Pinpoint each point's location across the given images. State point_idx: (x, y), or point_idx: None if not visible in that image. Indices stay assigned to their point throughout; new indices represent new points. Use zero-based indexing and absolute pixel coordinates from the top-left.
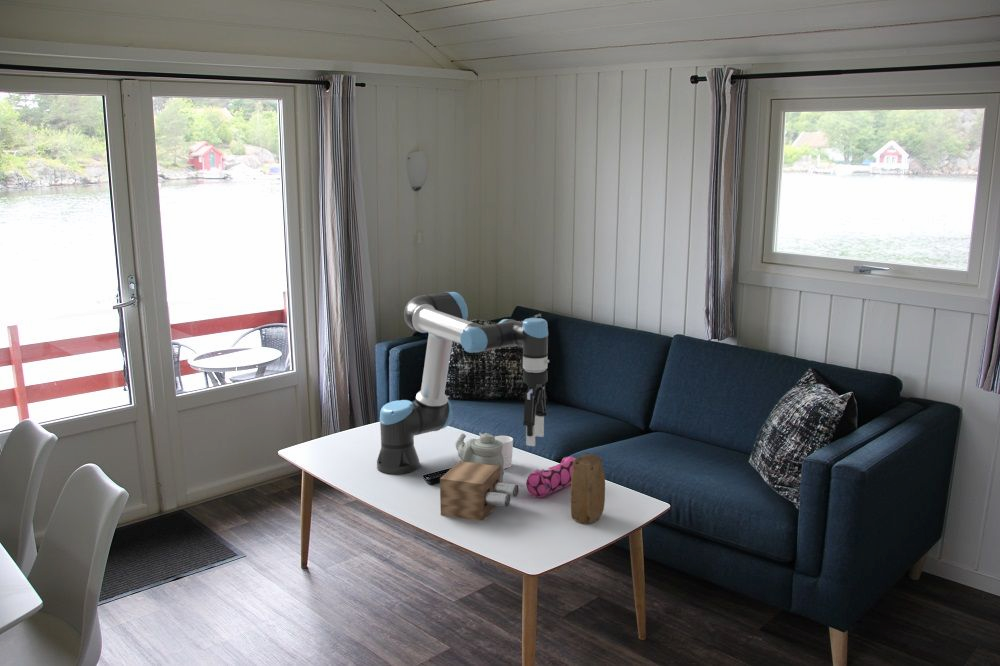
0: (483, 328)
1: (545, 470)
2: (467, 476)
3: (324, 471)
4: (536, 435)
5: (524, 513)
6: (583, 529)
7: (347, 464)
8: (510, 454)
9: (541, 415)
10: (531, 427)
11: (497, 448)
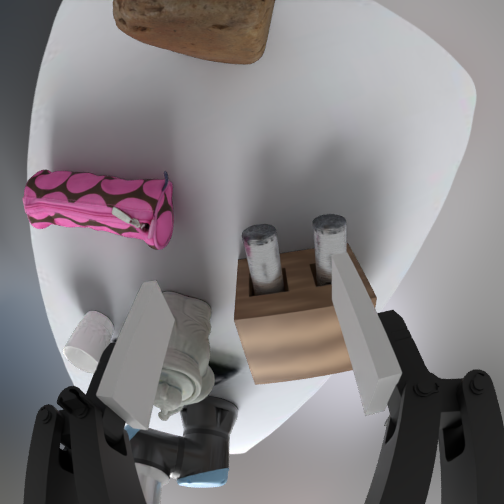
0: None
1: (129, 217)
2: (337, 342)
3: (267, 434)
4: (170, 316)
5: (272, 183)
6: (289, 21)
7: (237, 431)
8: (85, 327)
9: (106, 412)
10: (425, 367)
11: (172, 363)
